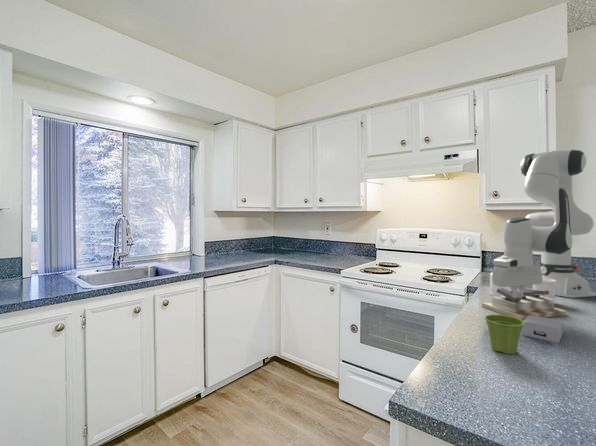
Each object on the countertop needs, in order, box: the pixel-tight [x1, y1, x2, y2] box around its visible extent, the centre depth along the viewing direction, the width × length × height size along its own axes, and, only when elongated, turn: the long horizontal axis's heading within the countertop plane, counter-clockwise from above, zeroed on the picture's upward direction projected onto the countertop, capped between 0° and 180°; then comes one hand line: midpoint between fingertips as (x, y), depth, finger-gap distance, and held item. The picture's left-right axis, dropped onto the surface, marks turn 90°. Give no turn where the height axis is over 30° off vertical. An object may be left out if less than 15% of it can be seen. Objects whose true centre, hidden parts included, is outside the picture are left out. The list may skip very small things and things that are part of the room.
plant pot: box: [484, 314, 524, 355], centre depth 87 cm, size 9×9×9 cm
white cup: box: [532, 278, 556, 300], centre depth 132 cm, size 8×8×10 cm
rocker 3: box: [524, 289, 549, 295], centre depth 123 cm, size 3×8×2 cm, turn 14°
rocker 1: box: [497, 288, 521, 302], centre depth 120 cm, size 3×8×2 cm, turn 14°
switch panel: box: [481, 295, 568, 321], centre depth 122 cm, size 22×17×6 cm
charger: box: [521, 315, 564, 344], centre depth 100 cm, size 5×9×15 cm
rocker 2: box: [510, 290, 535, 296], centre depth 122 cm, size 3×8×2 cm, turn 14°
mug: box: [489, 272, 519, 297], centre depth 143 cm, size 8×10×12 cm
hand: (517, 297), depth 116 cm, fingers closed, pressing on rocker 1
